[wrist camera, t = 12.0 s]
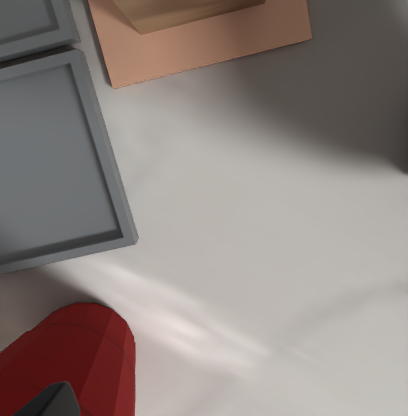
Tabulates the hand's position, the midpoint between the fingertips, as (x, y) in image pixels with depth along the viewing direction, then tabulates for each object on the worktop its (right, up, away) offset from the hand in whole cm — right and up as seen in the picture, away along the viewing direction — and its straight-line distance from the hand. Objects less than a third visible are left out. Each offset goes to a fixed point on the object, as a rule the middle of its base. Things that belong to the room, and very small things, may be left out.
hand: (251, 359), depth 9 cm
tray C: (-11, +5, +11) cm, 16 cm away
